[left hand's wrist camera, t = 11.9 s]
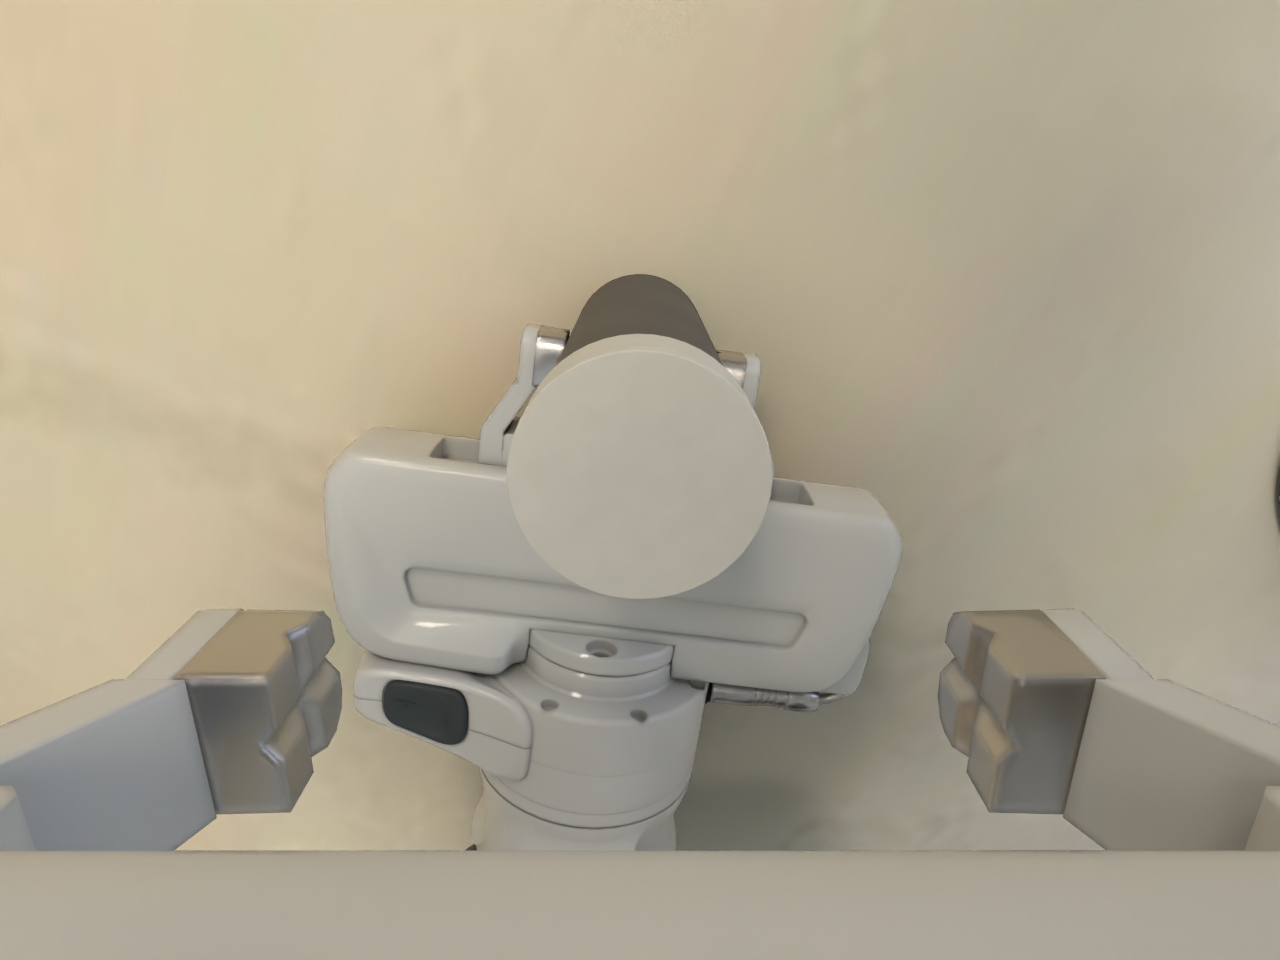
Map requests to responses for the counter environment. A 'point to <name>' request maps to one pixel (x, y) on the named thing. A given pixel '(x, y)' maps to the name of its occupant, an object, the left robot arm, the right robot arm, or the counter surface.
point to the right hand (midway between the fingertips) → (641, 341)
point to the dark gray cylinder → (639, 314)
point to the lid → (639, 468)
